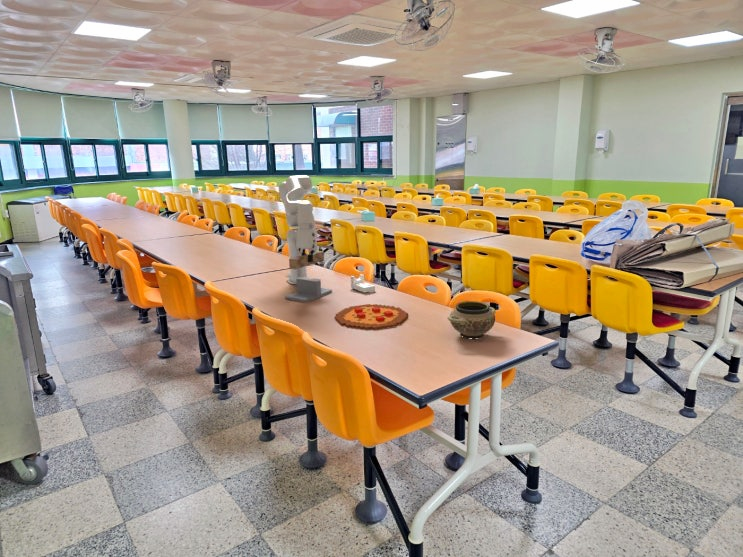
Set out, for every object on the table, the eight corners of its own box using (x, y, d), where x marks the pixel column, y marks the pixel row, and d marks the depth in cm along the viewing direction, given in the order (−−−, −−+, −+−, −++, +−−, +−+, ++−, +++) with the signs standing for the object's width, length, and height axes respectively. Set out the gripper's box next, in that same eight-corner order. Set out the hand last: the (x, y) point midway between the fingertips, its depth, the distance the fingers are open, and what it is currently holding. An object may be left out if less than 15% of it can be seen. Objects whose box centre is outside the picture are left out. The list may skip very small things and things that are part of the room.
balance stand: (285, 298, 252) (284, 281, 250) (311, 289, 270) (311, 272, 268) (306, 302, 245) (305, 284, 243) (332, 292, 263) (331, 275, 261)
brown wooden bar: (319, 259, 264) (318, 250, 263) (324, 260, 262) (323, 251, 261) (289, 268, 245) (289, 259, 243) (295, 269, 243) (294, 259, 241)
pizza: (389, 304, 241) (389, 298, 241) (418, 324, 213) (418, 317, 212) (328, 312, 230) (327, 306, 230) (349, 334, 201) (349, 327, 201)
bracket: (351, 289, 270) (350, 276, 268) (361, 287, 274) (361, 274, 272) (364, 294, 259) (364, 280, 258) (375, 292, 263) (374, 278, 262)
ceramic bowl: (482, 331, 209) (477, 297, 208) (513, 333, 193) (507, 296, 193) (437, 343, 196) (432, 307, 196) (467, 346, 181) (461, 307, 181)
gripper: (322, 226, 247) (324, 261, 252) (298, 224, 256) (299, 258, 260) (313, 228, 241) (315, 264, 246) (288, 226, 250) (290, 261, 254)
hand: (307, 261), depth 253 cm, fingers closed on brown wooden bar, 3 cm apart
